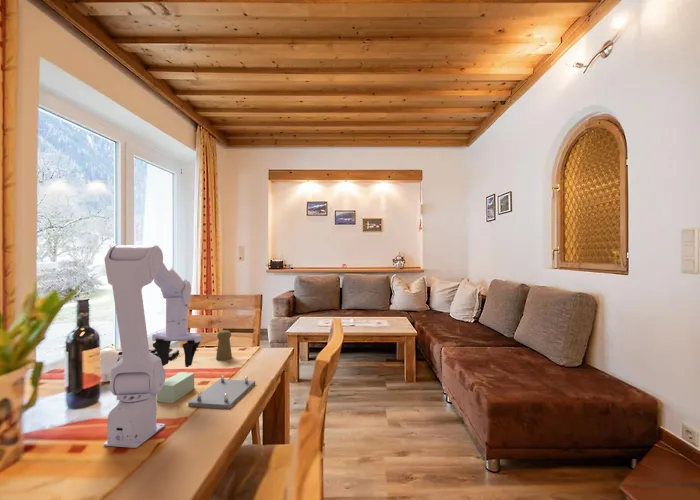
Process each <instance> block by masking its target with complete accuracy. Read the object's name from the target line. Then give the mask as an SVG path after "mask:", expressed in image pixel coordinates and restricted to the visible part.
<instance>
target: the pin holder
mask: <svg viewBox="0 0 700 500" xmlns="http://www.w3.org/2000/svg"><path fill="white" fill-rule="evenodd" d="M255 385H256V381H255V380H249V376H248V375H245V376H244V380H241V379H225V375H224V374H222V375H220V378H219V379H218V380H217V381H216V382H214V383H212V384H211V385H210V386H209V387H207V388H206V389H204V390H203V391H198V392H197V393H196V394H197V395H196V396H195V397H193V398H192V399H191V400H190V401H188V402H187V403H188V404H187V405H188V407H194V406H195V407H196V408H212V409H227V410H230V409H231V408H232V407H233V406H234V405H235V404H236V403H237V402H238V401H239V400H240V399H242V397H243V396H245V394H247V392H249V391H250V390H251V389H252V388H253V386H255ZM195 407H194V408H195Z"/></svg>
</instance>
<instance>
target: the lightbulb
mask: <svg viewBox="0 0 700 500" xmlns="http://www.w3.org/2000/svg"><path fill="white" fill-rule="evenodd" d="M116 350H117V349H114V348H112V347H104V348H102V349H100V350H99V351H100V358H101V360H100V369H101V370H100V369H99V372H100V376H101V377H100V378H101V382H102V383H108V382H110V381H111V369H112V368H113V366H114V365H115V364H116V362H117V360H118V357H119V356H118V352H117V351H116Z"/></svg>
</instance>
